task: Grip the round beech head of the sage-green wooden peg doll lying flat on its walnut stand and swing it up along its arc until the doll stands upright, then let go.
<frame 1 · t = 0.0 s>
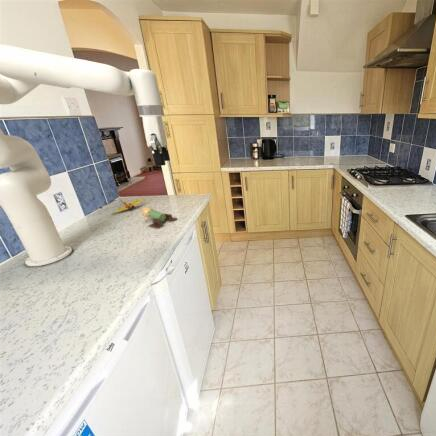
hand: (163, 163, 89), 31 cm above the countertop, tool pointing down, fingers open, 9 cm apart
origami crane: (130, 209, 135), on the countertop
stand: (163, 222, 116), on the countertop
peg doll: (153, 214, 117), point 4 cm above the countertop, hinge at -80.0°
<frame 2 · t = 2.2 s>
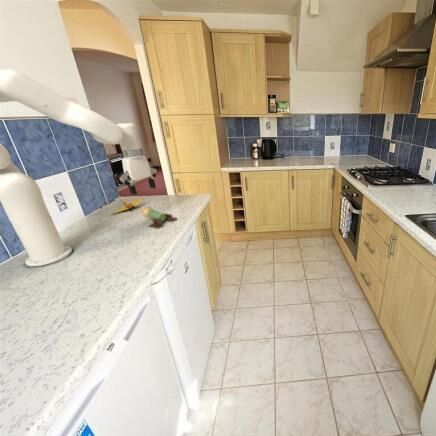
hand: (144, 190, 113), 15 cm above the countertop, tool pointing down, fingers open, 9 cm apart
nothing on the countertop moved.
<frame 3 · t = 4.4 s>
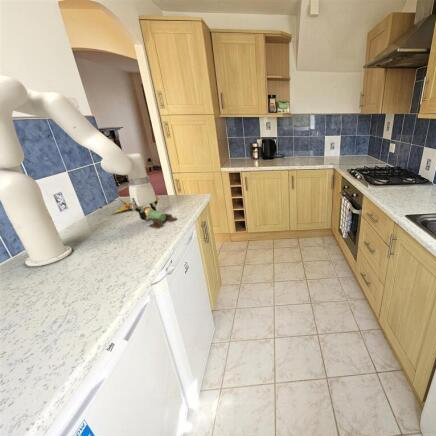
hand: (149, 216, 119), 2 cm above the countertop, tool pointing down, fingers closed on peg doll, 5 cm apart
peg doll: (153, 214, 117), point 4 cm above the countertop, hinge at -80.0°, touching gripper
everything else where it was.
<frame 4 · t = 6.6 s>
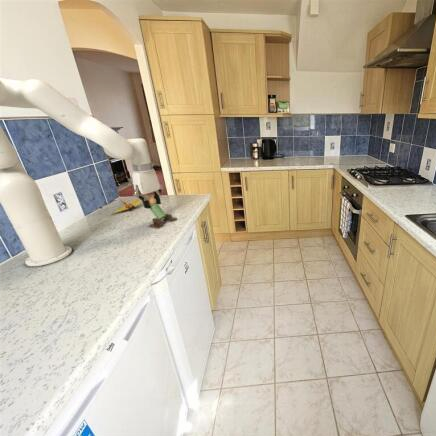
hand: (152, 205, 115), 8 cm above the countertop, tool pointing down, fingers closed on peg doll, 5 cm apart
peg doll: (154, 207, 115), point 7 cm above the countertop, hinge at -35.9°, touching gripper
everything else where it was.
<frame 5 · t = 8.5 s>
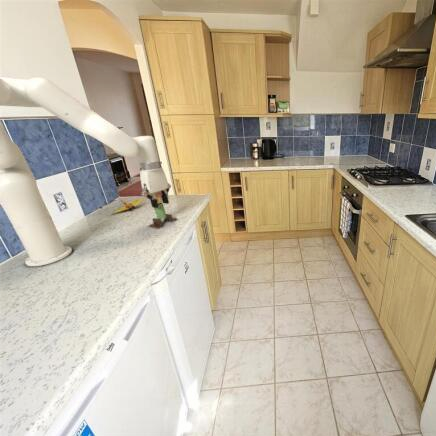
hand: (160, 204, 112), 9 cm above the countertop, tool pointing down, fingers closed on peg doll, 5 cm apart
peg doll: (158, 206, 113), point 9 cm above the countertop, hinge at -5.7°, touching gripper
everything else where it was.
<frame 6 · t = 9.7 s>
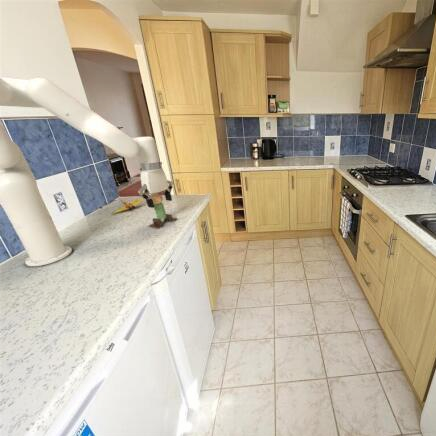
hand: (160, 203, 112), 10 cm above the countertop, tool pointing down, fingers open, 9 cm apart
peg doll: (158, 206, 113), point 9 cm above the countertop, hinge at -5.3°
everything else where it was.
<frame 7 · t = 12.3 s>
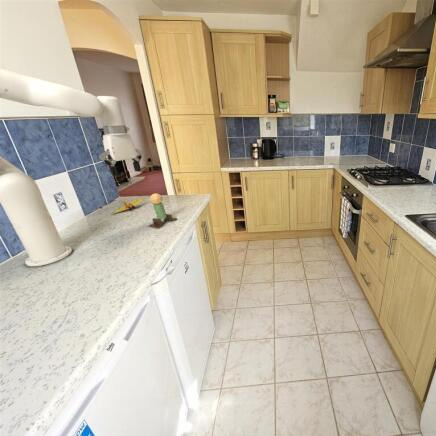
hand: (127, 173, 103), 25 cm above the countertop, tool pointing down, fingers open, 9 cm apart
nothing on the countertop moved.
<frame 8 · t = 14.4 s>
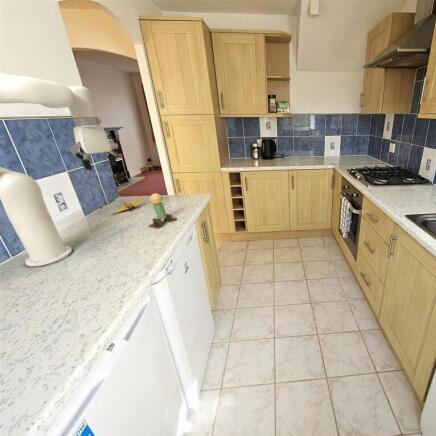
hand: (102, 167, 99), 28 cm above the countertop, tool pointing down, fingers open, 9 cm apart
nothing on the countertop moved.
at the end: peg doll at -5° (first picture: -80°); the gripper is holding nothing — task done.
